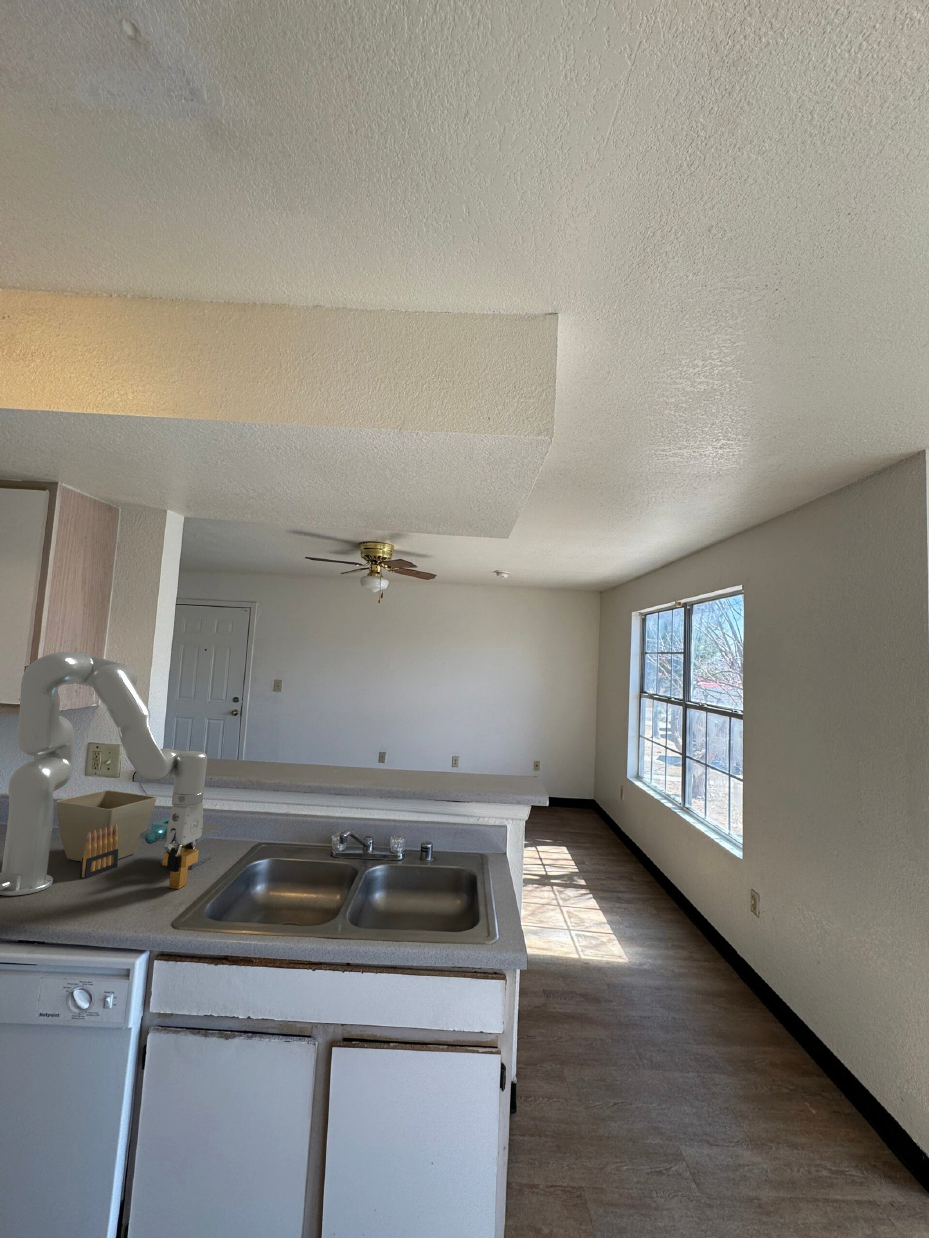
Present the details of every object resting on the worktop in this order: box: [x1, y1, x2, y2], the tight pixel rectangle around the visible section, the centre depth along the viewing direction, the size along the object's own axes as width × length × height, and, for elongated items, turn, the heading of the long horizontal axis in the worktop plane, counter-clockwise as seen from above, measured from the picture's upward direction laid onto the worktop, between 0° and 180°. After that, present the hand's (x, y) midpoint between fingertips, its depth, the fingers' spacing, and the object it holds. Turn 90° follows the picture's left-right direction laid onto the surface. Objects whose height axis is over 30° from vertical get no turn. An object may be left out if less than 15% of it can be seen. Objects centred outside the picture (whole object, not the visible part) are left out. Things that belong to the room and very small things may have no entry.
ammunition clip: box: [79, 824, 119, 879], centre depth 168 cm, size 11×2×12 cm, turn 164°
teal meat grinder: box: [139, 816, 226, 870], centre depth 175 cm, size 25×16×15 cm, turn 173°
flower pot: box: [56, 789, 157, 862], centre depth 180 cm, size 19×19×17 cm
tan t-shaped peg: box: [162, 846, 199, 890], centre depth 162 cm, size 6×6×9 cm
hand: (179, 866), depth 162 cm, fingers closed on tan t-shaped peg, 5 cm apart
